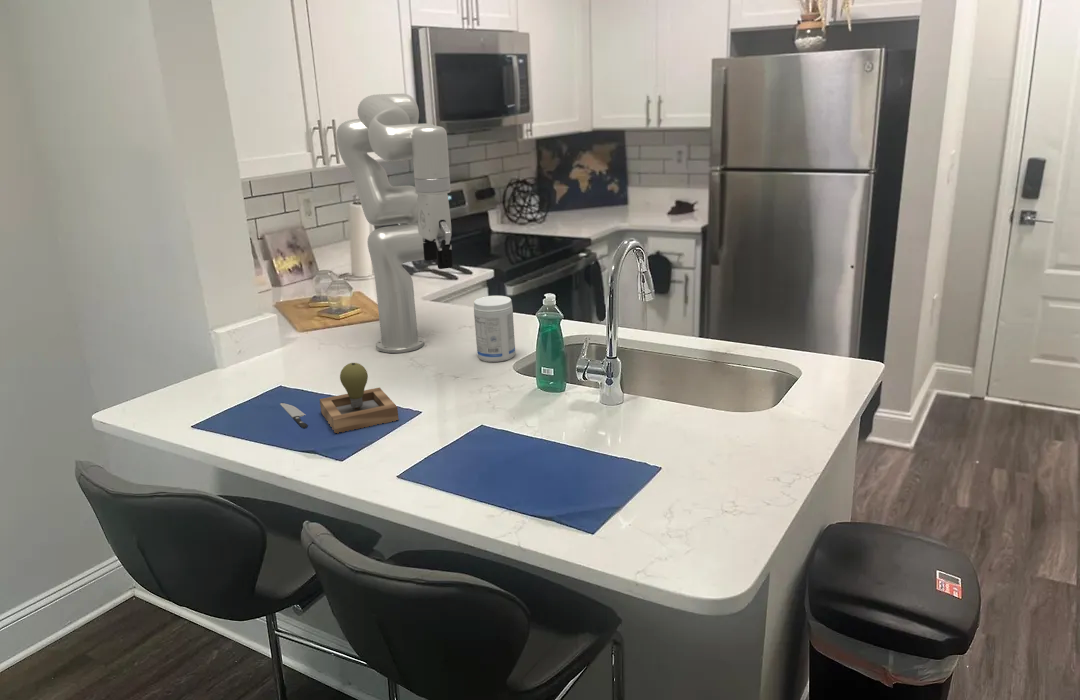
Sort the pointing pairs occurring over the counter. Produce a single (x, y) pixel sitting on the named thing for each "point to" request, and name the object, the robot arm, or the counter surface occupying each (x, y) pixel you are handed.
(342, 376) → the light bulb
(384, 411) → the cradle
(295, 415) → the chef's knife
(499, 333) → the supplement tub
